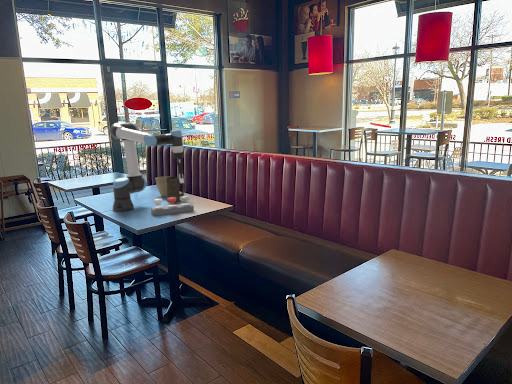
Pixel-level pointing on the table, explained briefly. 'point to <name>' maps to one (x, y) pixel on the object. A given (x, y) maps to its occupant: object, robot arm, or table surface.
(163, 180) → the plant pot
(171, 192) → the beer stein
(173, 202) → the red button
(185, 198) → the green button
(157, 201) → the white button
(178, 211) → the button panel
